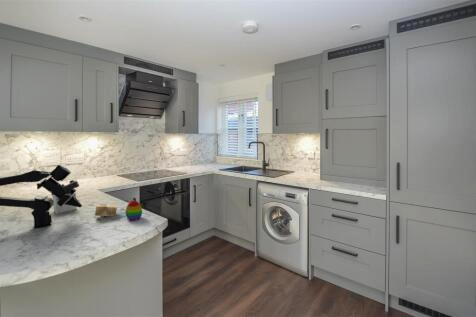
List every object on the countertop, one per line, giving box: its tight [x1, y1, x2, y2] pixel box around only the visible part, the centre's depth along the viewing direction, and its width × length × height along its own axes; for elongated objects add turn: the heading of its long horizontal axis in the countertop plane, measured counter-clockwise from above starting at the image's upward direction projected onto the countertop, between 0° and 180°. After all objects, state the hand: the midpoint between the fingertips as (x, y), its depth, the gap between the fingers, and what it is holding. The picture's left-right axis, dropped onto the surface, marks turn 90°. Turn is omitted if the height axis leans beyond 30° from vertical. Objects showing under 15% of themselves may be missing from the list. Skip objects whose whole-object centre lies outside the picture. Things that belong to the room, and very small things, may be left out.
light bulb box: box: [51, 192, 78, 214], centre depth 151 cm, size 11×7×11 cm, turn 141°
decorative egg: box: [125, 200, 143, 221], centre depth 133 cm, size 8×8×10 cm
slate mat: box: [99, 210, 127, 221], centre depth 139 cm, size 12×10×2 cm
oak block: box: [94, 203, 118, 217], centre depth 138 cm, size 5×6×10 cm
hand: (81, 206), depth 133 cm, fingers closed
